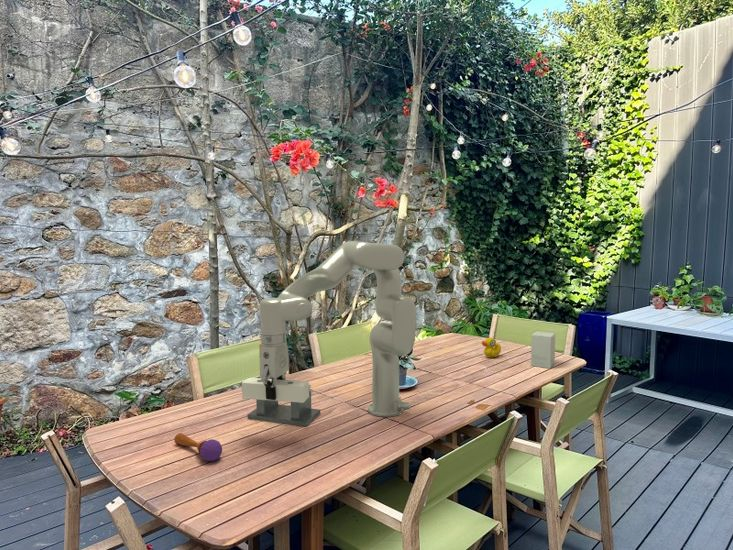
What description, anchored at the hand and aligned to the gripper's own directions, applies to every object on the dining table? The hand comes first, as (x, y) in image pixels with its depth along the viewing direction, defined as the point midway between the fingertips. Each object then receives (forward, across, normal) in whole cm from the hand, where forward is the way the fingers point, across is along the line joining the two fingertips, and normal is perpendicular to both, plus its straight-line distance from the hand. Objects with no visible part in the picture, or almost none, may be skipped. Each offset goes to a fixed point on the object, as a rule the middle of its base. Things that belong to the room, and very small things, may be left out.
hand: (275, 395), depth 161 cm
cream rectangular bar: (+1, 0, 0) cm, 1 cm away
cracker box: (+15, +39, +22) cm, 48 cm away
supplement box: (+17, +111, -80) cm, 138 cm away
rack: (+14, +17, +6) cm, 23 cm away
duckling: (+17, +117, -56) cm, 131 cm away
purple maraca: (+14, -16, +18) cm, 28 cm away
